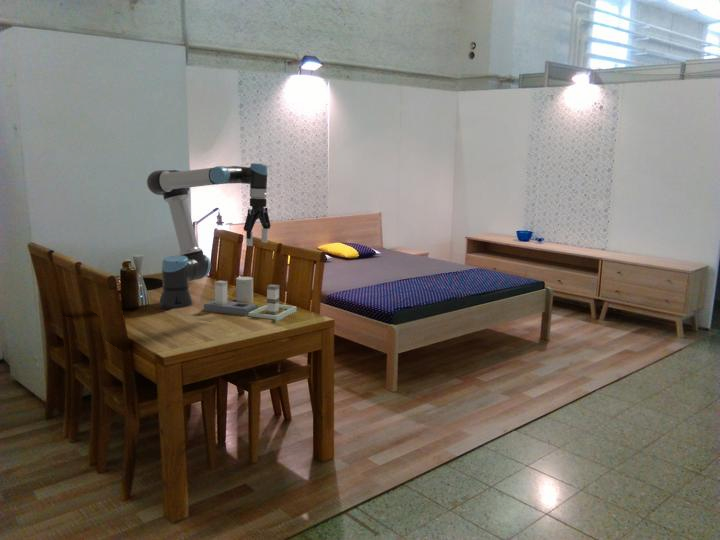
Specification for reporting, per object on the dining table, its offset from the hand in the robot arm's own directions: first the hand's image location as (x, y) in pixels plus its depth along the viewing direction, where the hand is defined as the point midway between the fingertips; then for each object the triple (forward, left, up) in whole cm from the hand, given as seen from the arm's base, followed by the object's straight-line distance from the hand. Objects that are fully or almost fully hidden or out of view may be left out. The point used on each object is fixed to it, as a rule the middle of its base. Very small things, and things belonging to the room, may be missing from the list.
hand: (257, 244), depth 280 cm
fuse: (-13, -10, -30) cm, 34 cm away
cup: (-13, +11, -31) cm, 35 cm away
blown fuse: (+11, -5, -31) cm, 33 cm away
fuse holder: (-8, -10, -31) cm, 34 cm away
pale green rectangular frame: (+11, -5, -31) cm, 33 cm away
